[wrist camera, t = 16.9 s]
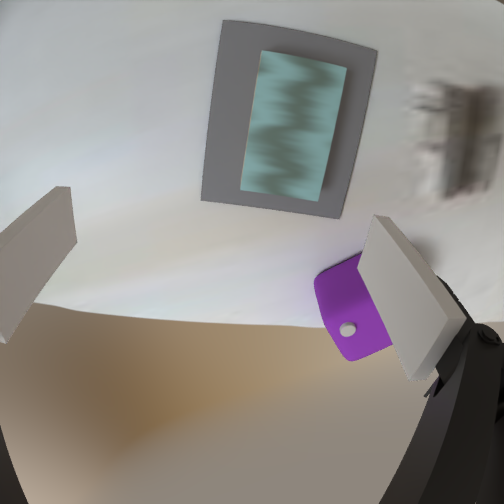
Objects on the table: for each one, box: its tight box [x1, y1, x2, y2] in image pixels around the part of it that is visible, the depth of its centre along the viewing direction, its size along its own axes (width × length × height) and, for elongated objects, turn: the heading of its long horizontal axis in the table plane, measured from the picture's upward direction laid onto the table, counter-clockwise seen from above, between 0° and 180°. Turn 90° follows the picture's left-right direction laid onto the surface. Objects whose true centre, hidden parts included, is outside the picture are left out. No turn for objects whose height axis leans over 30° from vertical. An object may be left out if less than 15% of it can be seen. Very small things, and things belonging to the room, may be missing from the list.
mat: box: [201, 20, 377, 219], centre depth 32 cm, size 16×20×1 cm
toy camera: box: [314, 253, 393, 361], centre depth 38 cm, size 11×14×10 cm
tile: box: [240, 50, 347, 202], centre depth 30 cm, size 8×3×14 cm
